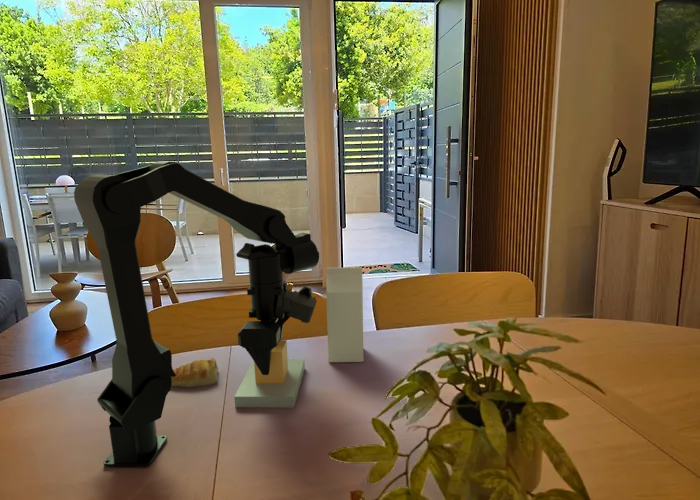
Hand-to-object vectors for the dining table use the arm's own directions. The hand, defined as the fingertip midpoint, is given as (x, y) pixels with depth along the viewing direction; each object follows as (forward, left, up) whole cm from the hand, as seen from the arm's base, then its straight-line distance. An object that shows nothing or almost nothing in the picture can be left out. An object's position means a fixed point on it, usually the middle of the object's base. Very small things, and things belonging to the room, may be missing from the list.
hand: (271, 362), depth 83 cm
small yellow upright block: (0, 0, -3) cm, 3 cm away
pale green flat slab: (0, 0, -5) cm, 5 cm away
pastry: (+3, +15, -5) cm, 16 cm away
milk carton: (+13, -13, -5) cm, 19 cm away
